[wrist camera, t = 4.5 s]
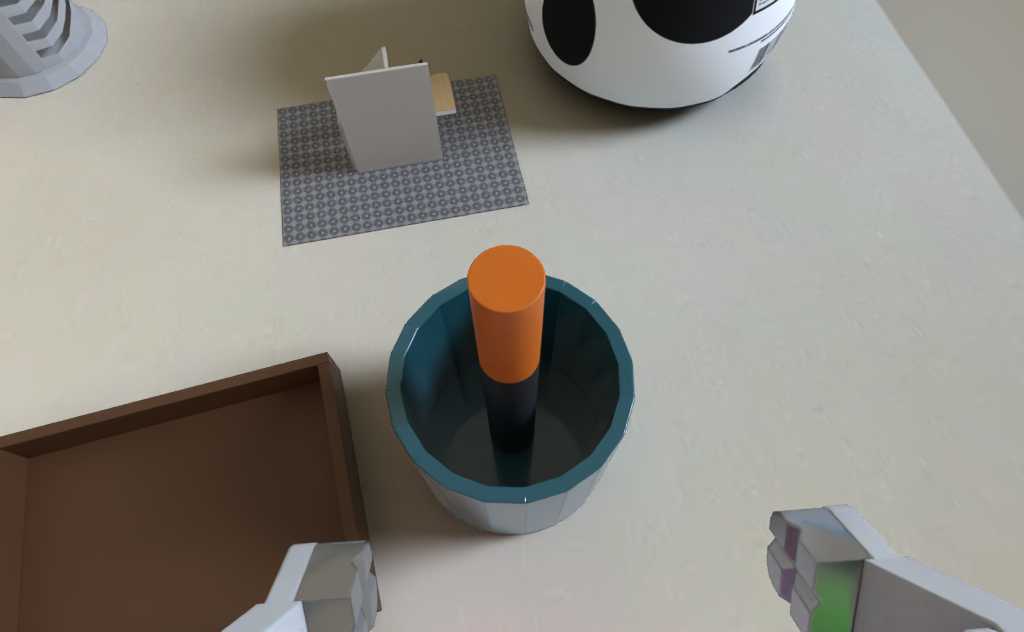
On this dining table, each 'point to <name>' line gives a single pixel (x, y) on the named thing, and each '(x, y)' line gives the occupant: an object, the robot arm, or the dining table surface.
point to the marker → (508, 340)
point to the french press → (46, 44)
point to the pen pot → (464, 422)
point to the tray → (175, 503)
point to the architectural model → (394, 152)
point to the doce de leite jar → (657, 46)
